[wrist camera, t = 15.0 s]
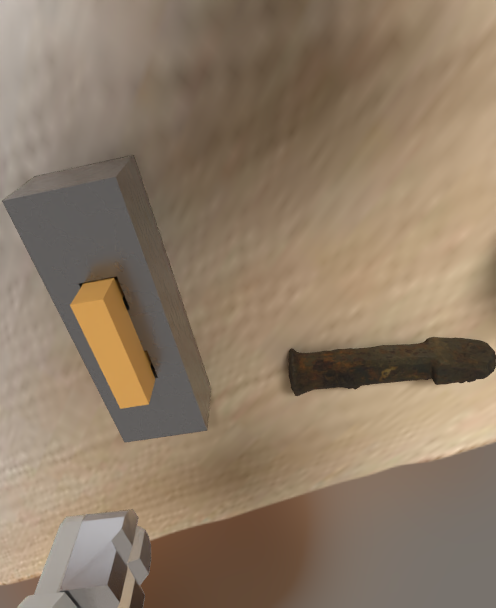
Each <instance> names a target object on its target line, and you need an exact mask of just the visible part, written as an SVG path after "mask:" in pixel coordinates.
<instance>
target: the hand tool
mask: <svg viewBox="0 0 496 608" xmlns="http://www.w3.org/2000/svg"><path fill="white" fill-rule="evenodd" d="M495 367H496V355H495V351H494V350H493V349H492V348H491V347H490V346H489V345H488V344H487V343H485V342H483V341H479V340H471V339H464V338H437V337H431V338H428V339H427V340H426V341H425V342H424V343H420V344H410V345H382V346H377V347H371V348H359V349H337V350H333V351H322V352H315V353H299V352H296V351H295V350H294V349H290V351H289V378H290V383H291V388H292V391H293V392H294V394H295V396H299V395H301V394H304V393H306V392H307V391H311V390H314V389H327V388H335V387H343V388H348V389H351V388H353V389H357V388H359V387H360V386H362V385H370V384H379V383H390V382H400V381H408V380H409V381H410V380H419V379H424V380H428V379H433V381H434V383H435V384H436V385H438V384H449V383H457V382H458V383H464V382H465V381H467V382H472V381H475V380H476V379H484V378H486V377H487V376H489V375H490V374H491V373H492V372H494V369H495Z"/></svg>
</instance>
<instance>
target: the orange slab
mask: <svg viewBox="0 0 496 608" xmlns="http://www.w3.org/2000/svg"><path fill="white" fill-rule="evenodd" d="M123 296H124V293H123V290H122V288H121V285H120V283H119V281H118V278H117V276H116V277H111V278H105V279H100V280H98V281H95V282H89V283H84V284H83V285H82V286H81V288H80V290H79V291H78V293H77V295H76V296H75V298H74V299H73V301H72V303H71V304H70V306H71V308H72V310H73V312H74V315H75V317H76V319H77V321H78V323H79V325H80V327H81V329H82V331H83V333H84V335H85V337H86V339H87V341H88V343H89V345H90V347H91V349H92V352H93V354H94V356H95V358H96V360H97V362H98V364H99V366H100V368H101V370H102V372H103V374H104V376H105V378H106V380H107V382H108V384H109V386H110V389H111V391H112V393H113V395H114V397H115V399H116V401H117V403H118V405H119V407H120V409H122V408H129V407H135V406H142V405H148V404H149V402H150V399H151V395H152V391H153V387H154V383H155V377H154V374H153V372H152V369H151V367H150V366H151V363H152V362H151V359H150V357H149V354H148V352H147V350H146V351H144V350H143V347H142V345H141V343H140V340H139V338H138V335H137V333H136V330H135V328H134V326H133V323H132V321H131V318H130V316H129V313H128V311H127V309H126V306H125V304H124V301H123V299H122V298H123Z"/></svg>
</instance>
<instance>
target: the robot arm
mask: <svg viewBox="0 0 496 608" xmlns="http://www.w3.org/2000/svg"><path fill="white" fill-rule="evenodd" d="M137 523H138V516H137V515H136V513H135V511H134V510H133V509H131V510H122V511H113V512H105V513H96V514H85V515H78V516H70V517H66V518H65V519H64V520H63V522H62V523H61V524H60V526H59V529H58V532H57V534H56V537H55V540H54V542H53V545H52V548H51V550H50V553H49V556H48V558H47V561H46V564H45V566H44V569H43V572H42V574H41V577H40V580H39V582H38V585H37V588H36V591H35V593H34V595H31V596H27V597H26V598H25V599H24V600H23V601H22V602H21V604H20V605H19V606H18V607H17V608H143V603H144V598H145V595H144V592H143V590H142V588H141V586H140V585H141V583H142V582H143V581H144V579H145V578H146V577H147V575H148V574H149V569H150V562H151V544H150V540H149V536H148V534H147V532H146V530H145V529H143V528H141V527H139V526H137Z"/></svg>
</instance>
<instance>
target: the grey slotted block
mask: <svg viewBox="0 0 496 608" xmlns="http://www.w3.org/2000/svg"><path fill="white" fill-rule="evenodd" d="M3 203H4V205H5V207H6V209H7V211H8V213H9V215H10V217H11V219H12V221H13V223H14V225H15V227H16V229H17V231H18V233H19V235H20V237H21V239H22V241H23V243H24V245H25V247H26V249H27V251H28V253H29V255H30V257H31V259H32V261H33V263H34V265H35V267H36V268H37V270H38V272H39V274H40V276H41V278H42V280H43V282H44V284H45V286H46V288H47V290H48V292H49V294H50V296H51V298H52V300H53V302H54V304H55V306H56V308H57V310H58V312H59V314H60V316H61V318H62V320H63V322H64V324H65V326H66V328H67V330H68V332H69V334H70V336H71V338H72V340H73V342H74V343H75V345H76V347H77V349H78V351H79V353H80V355H81V357H82V359H83V361H84V363H85V365H86V367H87V369H88V371H89V373H90V375H91V377H92V379H93V381H94V383H95V385H96V387H97V389H98V391H99V393H100V395H101V397H102V399H103V401H104V403H105V405H106V407H107V409H108V411H109V413H110V415H111V416H112V418H113V420H114V422H115V424H116V426H117V428H118V430H119V432H120V434H121V436H122V438H123V440H124V442H131V441H138V440H145V439H152V438H159V437H166V436H172V435H179V434H186V433H193V432H200V431H207V427H208V417H209V407H210V397H211V387H210V384H209V381H208V378H207V375H206V372H205V369H204V366H203V363H202V360H201V357H200V354H199V351H198V348H197V345H196V342H195V339H194V336H193V333H192V330H191V327H190V324H189V321H188V318H187V315H186V312H185V309H184V306H183V303H182V300H181V297H180V294H179V291H178V288H177V285H176V282H175V279H174V276H173V273H172V270H171V266H170V263H169V260H168V257H167V254H166V251H165V248H164V245H163V242H162V239H161V236H160V233H159V230H158V227H157V224H156V221H155V218H154V215H153V212H152V209H151V206H150V203H149V200H148V197H147V194H146V191H145V188H144V185H143V182H142V179H141V176H140V173H139V170H138V167H137V164H136V161H135V158H134V155H131V156H127V157H122V158H118V159H113V160H108V161H104V162H99V163H94V164H90V165H85V166H80V167H76V168H71V169H67V170H62V171H57V172H53V173H48V174H43V175H39V176H34V177H33V178H32V179H30V180H29V181H28V182H26V183H25V184H24V185H23V186H21V187H20V188H19V189H17V190H16V191H15V192H13V193H12V194H11V195H9V196H8V197H7V198H5V199H4V200H3ZM116 276H117V278H118V281H119V283H120V285H121V288H122V290H123V293H124V296H123V298H122V299H123V301H124V304H125V306H126V309H127V311H128V313H129V316H130V318H131V321H132V323H133V326H134V328H135V330H136V333H137V335H138V338H139V340H140V343H141V345H142V347H143V350H144V351H146V350H147V352H148V354H149V357H150V359H151V362H152V363H151V366H150V367H151V369H152V372H153V374H154V377H155V383H154V387H153V391H152V395H151V399H150V402H149V404H148V405H142V406H135V407H129V408H122V409H120V407H119V405H118V403H117V401H116V399H115V397H114V395H113V393H112V391H111V389H110V386H109V384H108V382H107V380H106V378H105V376H104V374H103V372H102V370H101V368H100V366H99V364H98V362H97V360H96V358H95V356H94V354H93V352H92V349H91V347H90V345H89V343H88V341H87V339H86V337H85V335H84V333H83V331H82V329H81V327H80V325H79V323H78V321H77V319H76V317H75V315H74V312H73V310H72V308H71V306H70V304H71V303H72V301H73V299H74V298H75V296H76V295H77V293H78V291H79V290H80V288H81V286H82V285H83V284H84V283H89V282H95V281H98V280H100V279H105V278H111V277H116Z"/></svg>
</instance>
